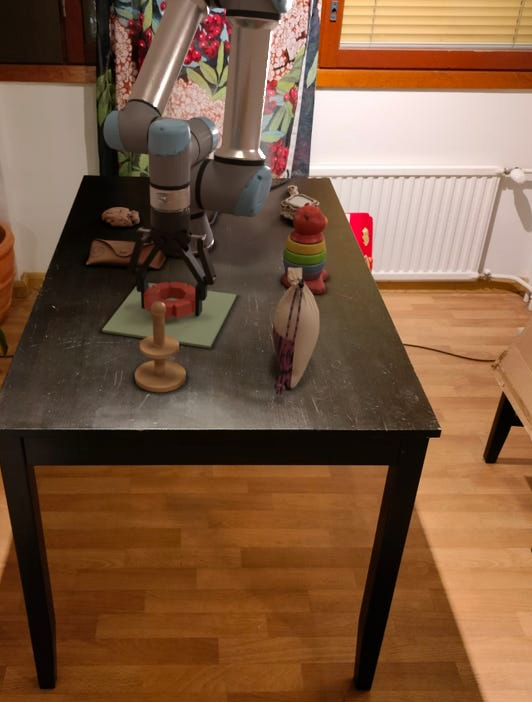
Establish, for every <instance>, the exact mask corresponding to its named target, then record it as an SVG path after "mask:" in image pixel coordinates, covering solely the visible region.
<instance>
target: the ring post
mask: <svg viewBox="0 0 532 702" xmlns="http://www.w3.org/2000/svg"><path fill="white" fill-rule="evenodd" d="M150 310H151V313H152V316H153V335H152V336H149V337H146V338H145V339H144V338H142V340H141V341H140V342H139V352H140V353H141V354H142V355H143V356H144V357H146V358H150V359H153V360H149V361H147V362H144V363H142V364H140V365H139V366H138V367H137V368H136V370H135V371H134V382H135V384H136V385H137V386H138V387H139V388H140V389H142V390H145V391H147V392H151V393H167V392H171V391H174V390H177V389H179V388H180V387H182V386H183V385H184V383H185V382H186V379H187V378H186V376H187V375H186V370H185V368H184V366H182V364H179V363H178V362H175V361H173V360H169V358H171V357H173V356H175V355H176V354H177V353H178V352H179V349H180V344H179V343H178V341H177V340H176V339H175V338H173V337H171V336H168V335H165V321H164V314H165V312H166V306H165V304H164V303H162V302H160V301H156V302H154V303H153V304H152V305H151V309H150Z"/></svg>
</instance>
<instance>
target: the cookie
mask: <svg viewBox="0 0 532 702" xmlns="http://www.w3.org/2000/svg"><path fill="white" fill-rule="evenodd" d="M101 220H102V221H103V222H105V223H107V224H110V226H112V227H122V228H123V227H128V228H129V227H133V226H136V225H138V224H140V216H139V211H136V210H130V209H129V208H127V207H120V206H119V207H111V208H108V209H107V210H104V212H103V213H102V214H101Z"/></svg>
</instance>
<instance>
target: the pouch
mask: <svg viewBox="0 0 532 702" xmlns="http://www.w3.org/2000/svg"><path fill="white" fill-rule="evenodd" d="M287 276H288V282H289V283H290V284H291V287H290V288H289V287H288V289H287V290H286V291H285V293H284V294H283V295H282V297H281V298H280V300H279V301H278V303H277V305H276V308H275V310H274V314H273V319H272V339H273V344H274V350H275V353H276V354H275V355H276V359H277V363H278V367H279V372H278V373H279V374H278V381H277V383H276V384H274V390H275V395H276V396H278V395H279V396H282V395H283V392H284V391H286V387H287V388H288V389H294V388H295V387H297V385H298V384H299V382H300V380H301V379H302V377H303V375H304V373H305V371H306V369H307V366H308V365H309V362H310V361H311V358H312V356H313V353H314V350H315V348H316V345H317V341H318V339H319V338H318V337H319V334H320V328H321V327H320V310H319V307H318V304H317V301H316V299H315V296H314V294H312V293H311V291H310V290H309V289H308V287H307V286H306V283H305V281H304V280H302V268H291V267H289V268H288V272H287ZM301 280H302V281H301Z"/></svg>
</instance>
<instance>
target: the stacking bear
mask: <svg viewBox="0 0 532 702" xmlns="http://www.w3.org/2000/svg"><path fill="white" fill-rule="evenodd" d="M292 224H293V225H292V226H293V230H292V231H291V232H290V234H288V236H287V238H286V241H285V245H284V248H283V252H282V262H283V263H282V264H283V268H284V273H283V275H282V278H281V281H282V284H283V285H284V286H285V287H287V288H288V289H289V288H290V287H291V284H290V283H289V282H288V276H287V272H288V268H289V267H291V268H302V280H304V281H305V283H306V286H307V287H308V289H309V290H310V291H311V293H312V294H313V295H320V294H324V293H325V292H326V290H327V287H326V284H325V282H324V281H326V280H328V272H327V270H325V269H324V267H325V264H326V260H327V248H326V240H325V235H324V233H323V231H324V230H325V229H327V226H328V224H329V220H328V218H327V217H326V216H325V215H324V213H322V211H321V209H320V207H319V208H318V207H316V206H312V205H309V202H307V203H306V204H305V205H304V206H302V207H300V208H299V209H297V211H296V212H295V213H294V216H293V220H292ZM302 280H301V281H302Z"/></svg>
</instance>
